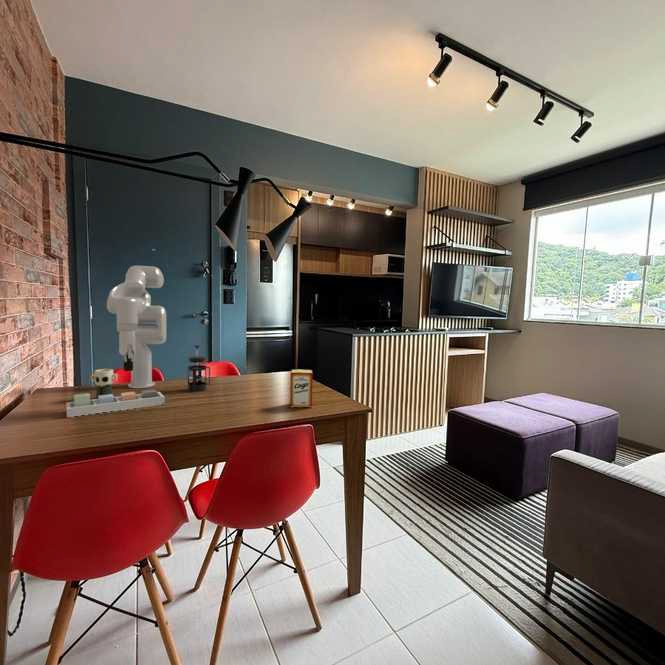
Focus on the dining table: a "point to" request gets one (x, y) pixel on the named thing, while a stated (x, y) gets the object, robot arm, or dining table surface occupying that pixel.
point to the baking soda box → (301, 387)
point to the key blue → (105, 399)
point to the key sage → (81, 399)
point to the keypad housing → (113, 405)
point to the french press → (198, 385)
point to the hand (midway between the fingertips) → (128, 370)
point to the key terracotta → (128, 396)
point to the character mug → (103, 381)
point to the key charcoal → (149, 393)
